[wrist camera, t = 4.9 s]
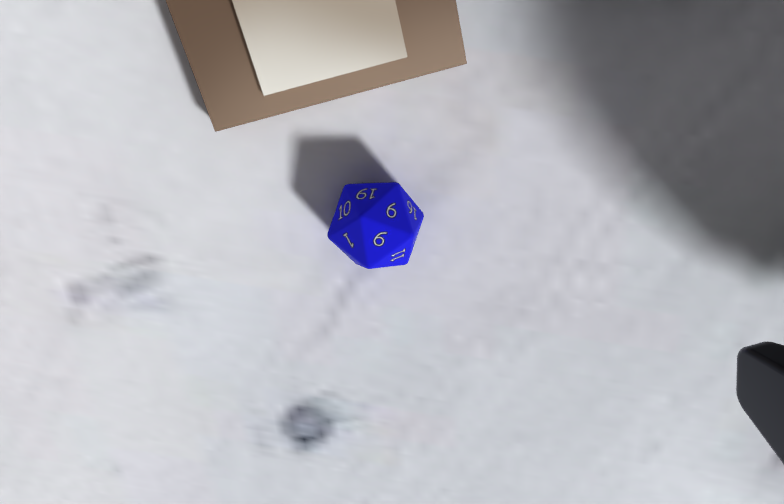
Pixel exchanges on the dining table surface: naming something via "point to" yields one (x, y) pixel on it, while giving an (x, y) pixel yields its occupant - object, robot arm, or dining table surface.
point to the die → (376, 224)
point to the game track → (309, 50)
